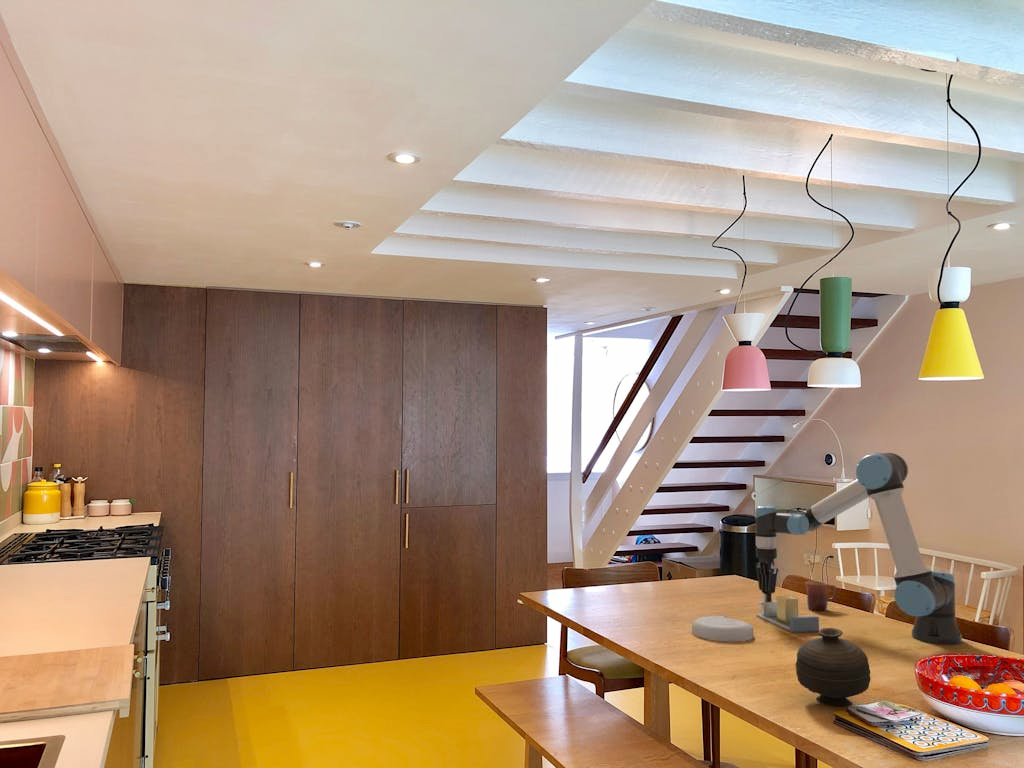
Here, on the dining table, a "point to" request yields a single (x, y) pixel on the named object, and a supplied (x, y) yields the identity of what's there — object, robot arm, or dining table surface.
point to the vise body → (796, 623)
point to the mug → (818, 595)
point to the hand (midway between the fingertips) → (767, 610)
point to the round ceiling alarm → (722, 629)
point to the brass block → (786, 609)
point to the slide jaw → (768, 608)
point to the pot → (833, 668)
